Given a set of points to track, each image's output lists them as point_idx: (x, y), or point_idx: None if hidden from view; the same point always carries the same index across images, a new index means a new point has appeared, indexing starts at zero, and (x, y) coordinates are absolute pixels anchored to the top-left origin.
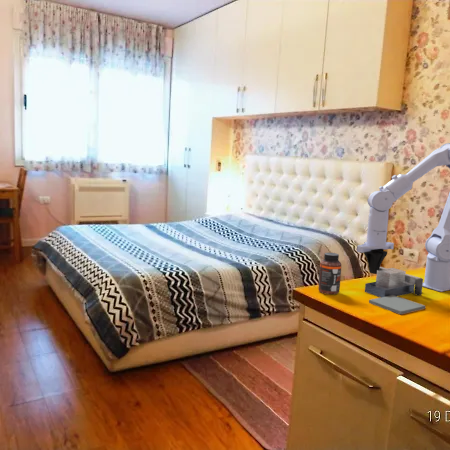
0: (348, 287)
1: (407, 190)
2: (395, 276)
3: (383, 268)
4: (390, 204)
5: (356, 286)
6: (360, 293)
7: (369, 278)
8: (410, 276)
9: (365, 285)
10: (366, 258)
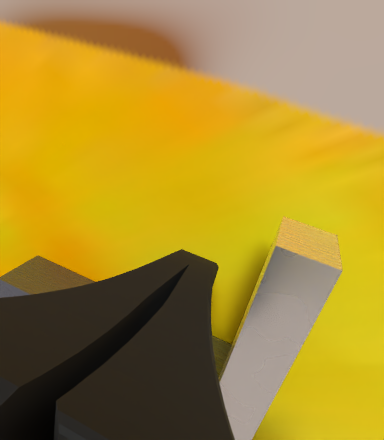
0: (24, 156)
1: None
2: None
3: (239, 387)
4: None
5: (78, 183)
6: (5, 247)
7: (377, 162)
8: None
9: (8, 273)
10: (53, 292)
